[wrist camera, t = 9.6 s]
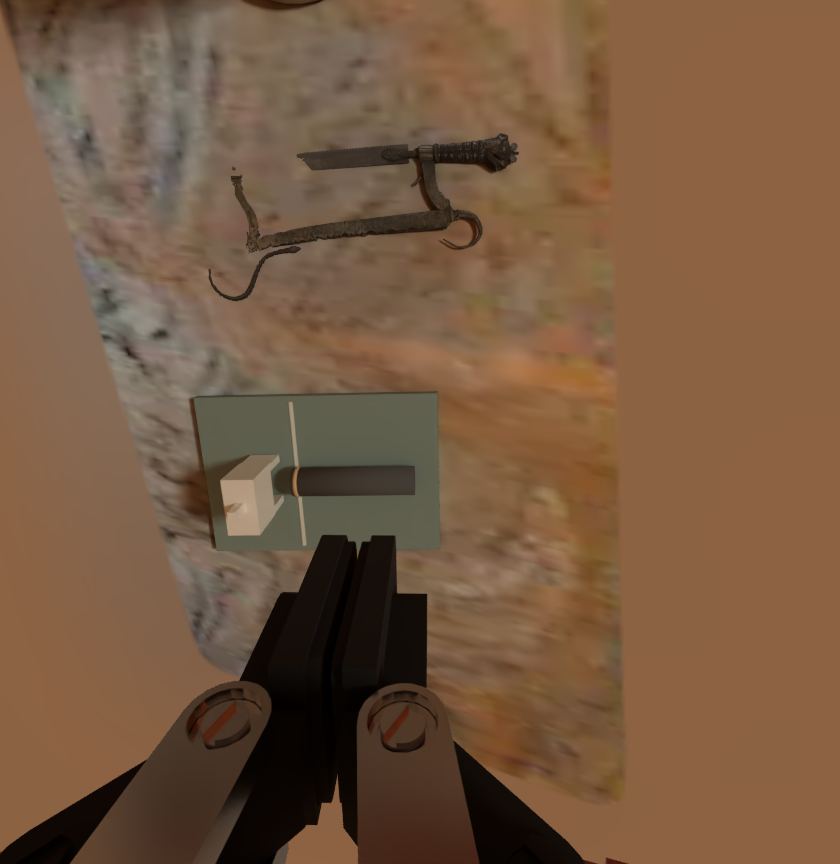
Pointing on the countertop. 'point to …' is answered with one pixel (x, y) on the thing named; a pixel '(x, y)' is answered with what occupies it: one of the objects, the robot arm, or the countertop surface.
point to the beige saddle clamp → (250, 495)
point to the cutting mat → (326, 463)
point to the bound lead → (352, 481)
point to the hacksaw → (481, 151)
